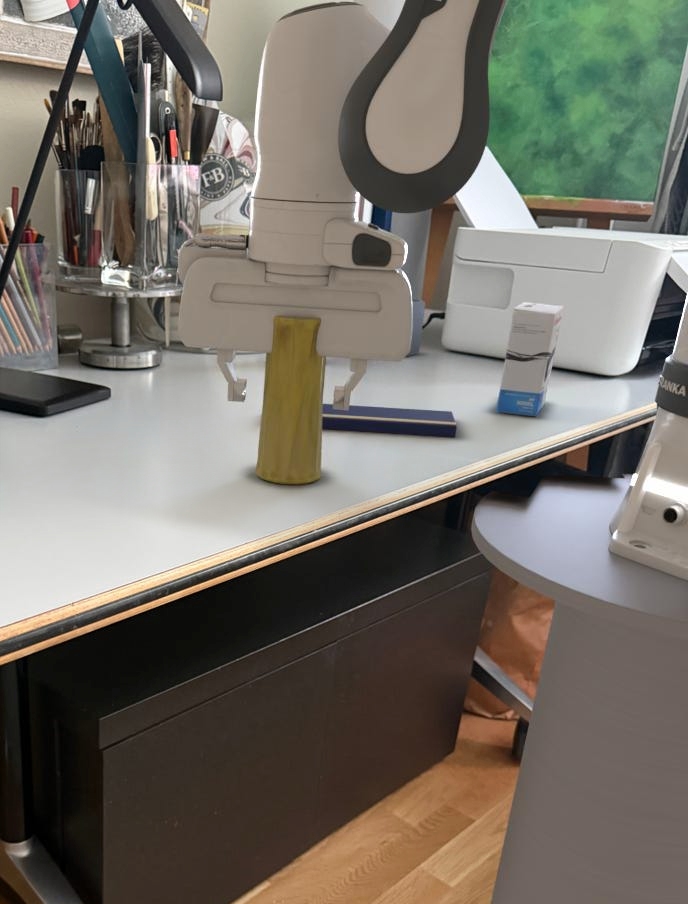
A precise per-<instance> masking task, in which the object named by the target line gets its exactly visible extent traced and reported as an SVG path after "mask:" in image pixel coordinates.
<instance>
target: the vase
mask: <svg viewBox="0 0 688 904" xmlns="http://www.w3.org/2000/svg"><path fill="white" fill-rule="evenodd" d="M320 324H321V319H320V318H317V319H295V318H285V317H279V316H275V317H274V330H273V345H272V352H271V353H265V365H264V366H265V368H264V384H263V397H262V407H261V408H262V409H261V419H260V428H259V436H258V437H259V438H258V447H257V461H256V466H255V470H254V471H255V474H256V476H257V477H259V478H260V479H261V480H263V481H267V482H270V483H275V484H281V485H304V484H309V483H314V482H316V481H318V480H319V479H320V478H321V477H322V448H323V447H322V446H323V445H322V444H323V429H322V408H323V404H324V391H325V390H324V389H325V376H326V367H327V366H326V365H327V357H322V356H319V355H318V353H317V350H316V343H317V334H318V330H319V327H320Z"/></svg>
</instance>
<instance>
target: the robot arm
mask: <svg viewBox="0 0 688 904" xmlns="http://www.w3.org/2000/svg"><path fill="white" fill-rule="evenodd" d="M507 3H508V0H404V2H403V6H402V8H401V11H400V13H399V16H398V18H397V20H396V21H395V24H394V25H393V28H392V29H389V28H388V27H387V26H386V25H384V24H383V23H381V22H380V21H379V20H378V19H377V18H376V17H375V16H374V15H373V14H372V13H371V12H370V11H369V9H368V7H366V6H365V5H364V4H361V3H358V2H355V1H338V2H336V1H330V2H322V3H315V4H311V5H308V6H304V7H301V8H297V9H295V10H293V11H291V12H289V13H286V14H285V15H282V16H281V17H280V18H279V20H278V21H276V23H275V24H274V25H273V26H272V27H271V29H270V30H269V32H268V34H267V37H266V40H265V43H264V47H263V50H262V51H263V52H262V55H261V56H262V57H261V61H260V69H259V74H258V75H259V76H258V82H257V83H258V85H257V90H256V91H257V92H256V100H255V102H256V103H255V115H254V130H253V140H254V145H255V150H256V159H257V166H256V173H255V177H254V181H253V183H252V186H251V191H250V202H249V203H250V204H249V206H250V207H249V219H248V220H249V223H248V234H234V233H233V234H231V233H229V234H213V233H211V232H200V233H196V235H195V237H191V238H189V239H186V241H184V243H182V244H181V247H180V248H179V250H178V255H177V276H178V279H179V282H180V283H181V285H182V292H181V297H180V298H181V299H180V303H179V310H178V311H179V312H178V320H177V336H178V338H179V339H180V341H181V342H182V344H183V345H184V346H185V347H187V348H193V349H194V348H195V349H210V350H216V364H217V365H218V367H219V370H220V371H221V373H222V375H223V376H224V379H225V380H226V383H227V401H228V402H234V403H235V402H237V403H245V401H246V397H247V391H246V388H247V382H248V381H247V380H248V379H247V378H239V377H238V375H237V373H236V371H235V368H234V366H233V364H232V363H233V361H234V360H235V358H236V353H237V351H239V352H252V353H264V354H266V353H271V352H272V345H273V330H274V317H275V316H279V317H285V318H295V319H317V318H320V319H321V324H320V327H319V330H318V334H317V343H316V350H317V353H318V355H319V356H322V357H326V358H335V359H336V358H339V359H350V365H349V371H350V372H352V374H351V375H350V376H349V378H348V380H347V381H346V382H345V384H344V385H343V386H342V385H335V386H334V391H333V401H332V404H333V409H338V410H349V405H351V404H350V403H351V395H352V392H353V391H354V390H355V388H356V387H357V386H358V384H359V383H360V381H361V380H362V378H363V377H364V376H365V374H366V373H367V364H368V361H380V362H381V361H382V362H393V363H399V362H401V361H403V360H404V359H405V358H406V357H407V356H406V355H407V354H408V353H409V352H410V348H411V339H412V299H413V295H412V287H411V283H410V281H409V278H408V276H407V274H406V273H405V272H404V271H403V269H401V268H402V267H404V265H405V263H406V262H407V257H408V253H409V252H408V251H409V249H408V247H409V246H408V243H407V241H405V240H404V239H405V238H404V239H403V237H401V236H400V235H397V234H395V233H393V232H390V231H387V230H385V229H382V228H380V227H379V225H376V224H375V223H371V222H369V223H367V222H364V221H363V220H360V219H359V216H358V212H359V201H360V196H361V197H362V198H363V199H364V200H366V201H367V202H369V203H370V204H372V205H373V206H375V207H377V208H379V209H381V210H385V211H387V212H390V213H395V214H396V213H397V214H415V213H421V212H426V211H429V210H432V209H434V208H435V207H439V206H440V205H442V204H444V203H446V202H447V201H448V200H450V199H451V198H453V197H454V196H455V195H456V194H457V193H459V192H460V191H461V190H462V189H463V188H464V187H465V186H466V184H467V183H468V182H469V181H470V179H472V176H473V175H474V173H475V172H476V170H477V168H478V166H479V165H480V163H481V160H482V158H483V155H484V152H485V149H486V146H487V143H488V138H489V131H490V117H491V116H490V115H491V113H490V112H491V111H490V109H491V108H490V87H489V85H490V84H489V67H490V60H491V54H492V49H493V45H494V42H495V37H496V35H497V32H498V31H497V30H498V28H499V25H500V22H501V20H502V17H503V14H504V11H505V8H506V6H507ZM192 244H195V246H191V245H192ZM672 351H673V352H672V354H670V355H669V356H668V357H666V358H665V361H664V365H663V368H662V371H661V375H659V378H658V382H657V385H658V386H657V390H656V393H655V398H654V402H655V403H656V413H655V416H654V420H653V423H652V427H651V430H650V433H649V435H648V437H647V438H648V439H647V441H646V443H645V447H644V450H643V451H642V454H641V457H640V460H639V462H638V465H637V467H636V470H635V472H634V473H633V478H632V482H631V484H630V486H629V488H628V490H627V492H626V495H625V497H624V499H623V501H622V502H621V504H620V506H619V508H618V510H617V511H616V513H615V515H614V516H613V518H612V519H611V521H610V523H609V528H610V531H611V533H612V535H613V536H612V538H611V541H610V543H609V546H608V549H609V551H611V552H612V553H614V554H617V555H619V556H622V557H625V558H627V559H630V560H633V561H635V562H638V563H641V564H643V565H646V566H649V567H652V568H654V569H657V570H660V571H662V572H665V573H668V574H670V575H673V576H676V577H679V578H681V579H684V580H687V581H688V293H686V298H685V303H684V306H683V311H682V315H681V319H680V322H679V327H678V331H677V336H676V340H675V343H674V348H673V350H672Z"/></svg>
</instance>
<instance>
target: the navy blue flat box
mask: <svg viewBox="0 0 688 904" xmlns="http://www.w3.org/2000/svg"><path fill="white" fill-rule="evenodd" d="M457 428H458V424H457V422H456V419H455V417H454V414H453V412H452V411H451V410H449V411H448V410H433V409H432V410H431V409H418V408H401V407H382V406H367V405H351V404H349V410H338V409H333V403H323V408H322V430H337V431H338V430H339V431H350V432H351V431H352V432H353V431H354V432H367V433H368V432H369V433H383V434H400V435H415V436H430V437H431V436H432V437H446V438H456V436H457Z"/></svg>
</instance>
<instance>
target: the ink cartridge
mask: <svg viewBox="0 0 688 904" xmlns="http://www.w3.org/2000/svg"><path fill="white" fill-rule="evenodd" d="M425 310H426V301H424V300H422V299H415V298H412V339H411V348H410V352H409V353H408V354H407V355H406V356H405V357H409V356H410V357H411V356H415V355H418V354H419V353H420V349H421V341H422V340H421V339H422V333H423V325H424V317H425Z"/></svg>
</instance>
